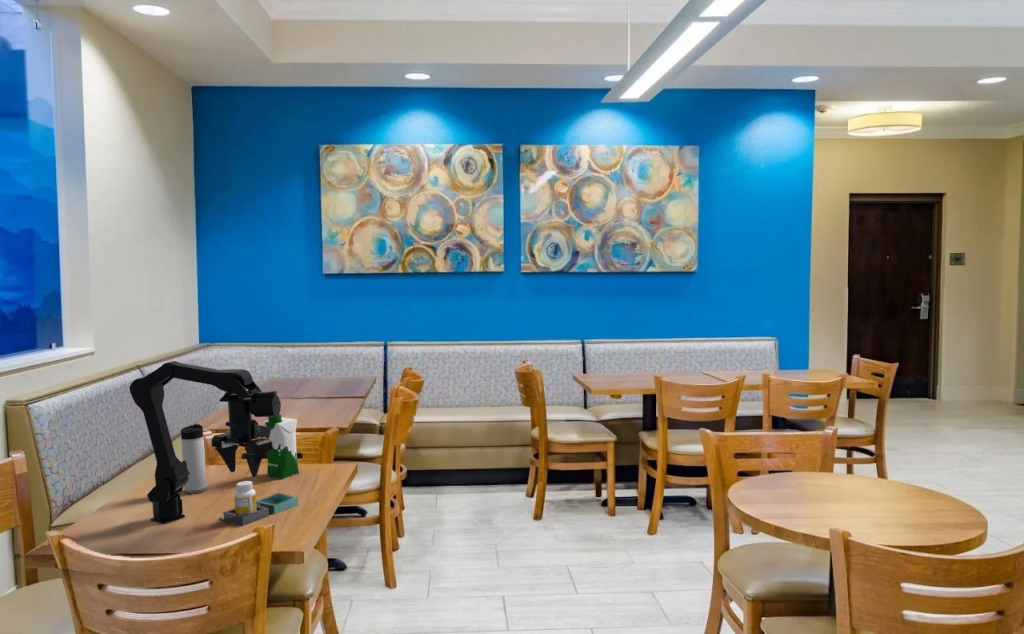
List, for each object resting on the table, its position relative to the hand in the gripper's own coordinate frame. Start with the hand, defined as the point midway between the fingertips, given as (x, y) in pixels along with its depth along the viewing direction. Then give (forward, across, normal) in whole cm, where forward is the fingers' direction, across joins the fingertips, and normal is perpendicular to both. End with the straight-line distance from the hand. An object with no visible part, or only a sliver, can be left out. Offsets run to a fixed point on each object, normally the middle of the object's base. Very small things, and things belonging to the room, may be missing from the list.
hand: (243, 474), depth 195 cm
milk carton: (+12, +24, -32) cm, 42 cm away
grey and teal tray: (+12, +1, -5) cm, 13 cm away
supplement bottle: (+12, 0, 0) cm, 12 cm away
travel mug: (+12, +35, -8) cm, 38 cm away
